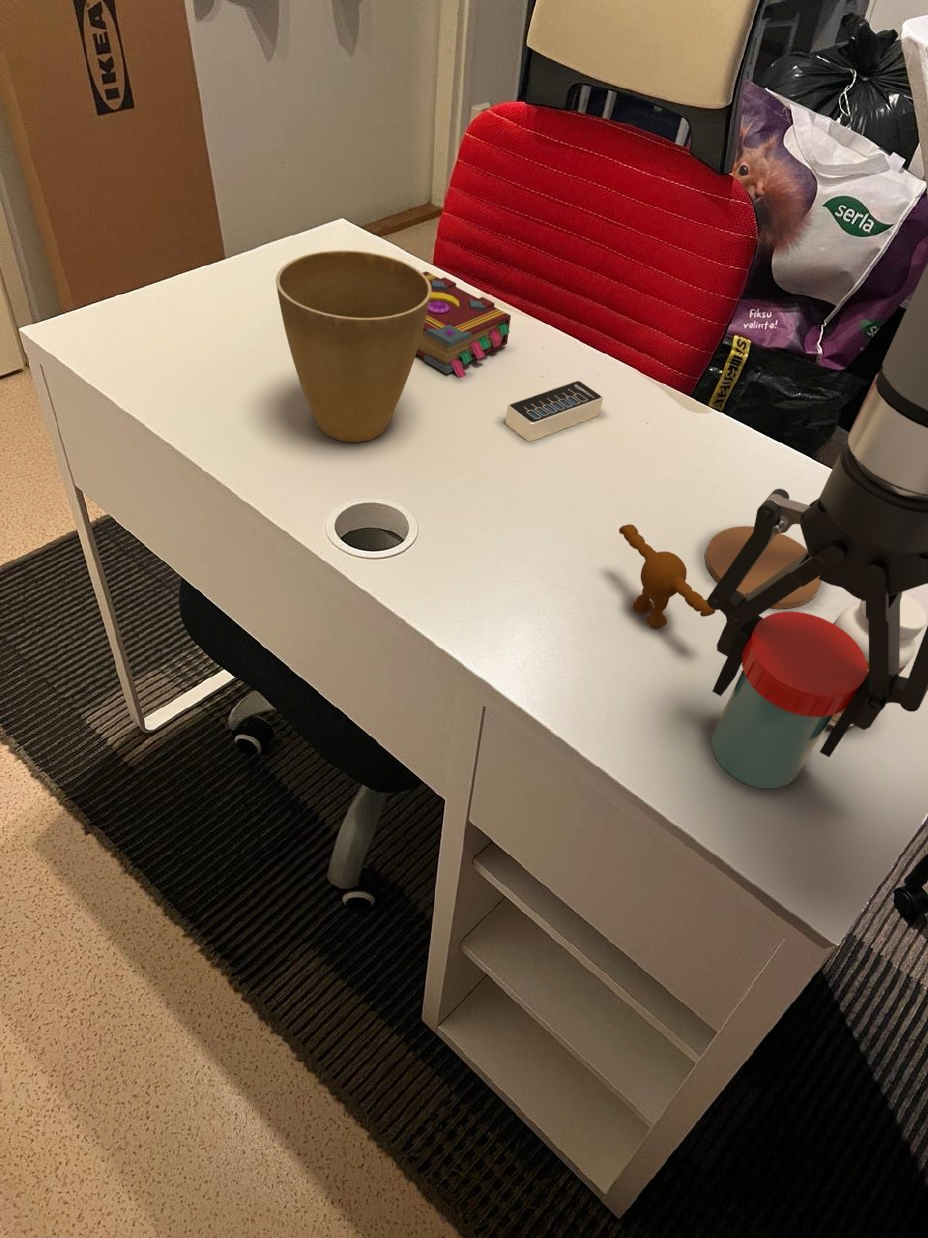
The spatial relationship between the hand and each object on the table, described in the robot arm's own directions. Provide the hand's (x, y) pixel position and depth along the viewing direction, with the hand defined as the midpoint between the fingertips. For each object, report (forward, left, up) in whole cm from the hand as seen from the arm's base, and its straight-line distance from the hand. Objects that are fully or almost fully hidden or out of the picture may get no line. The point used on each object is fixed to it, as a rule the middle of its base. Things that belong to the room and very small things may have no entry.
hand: (776, 712), depth 68 cm
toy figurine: (+16, 0, -5) cm, 17 cm away
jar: (0, 0, -5) cm, 5 cm away
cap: (0, 0, +6) cm, 6 cm away
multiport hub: (+47, -6, -5) cm, 48 cm away
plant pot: (+52, +16, -5) cm, 55 cm away
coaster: (+18, -14, -5) cm, 23 cm away
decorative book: (+67, 0, -5) cm, 67 cm away
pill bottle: (+2, -9, -5) cm, 10 cm away
